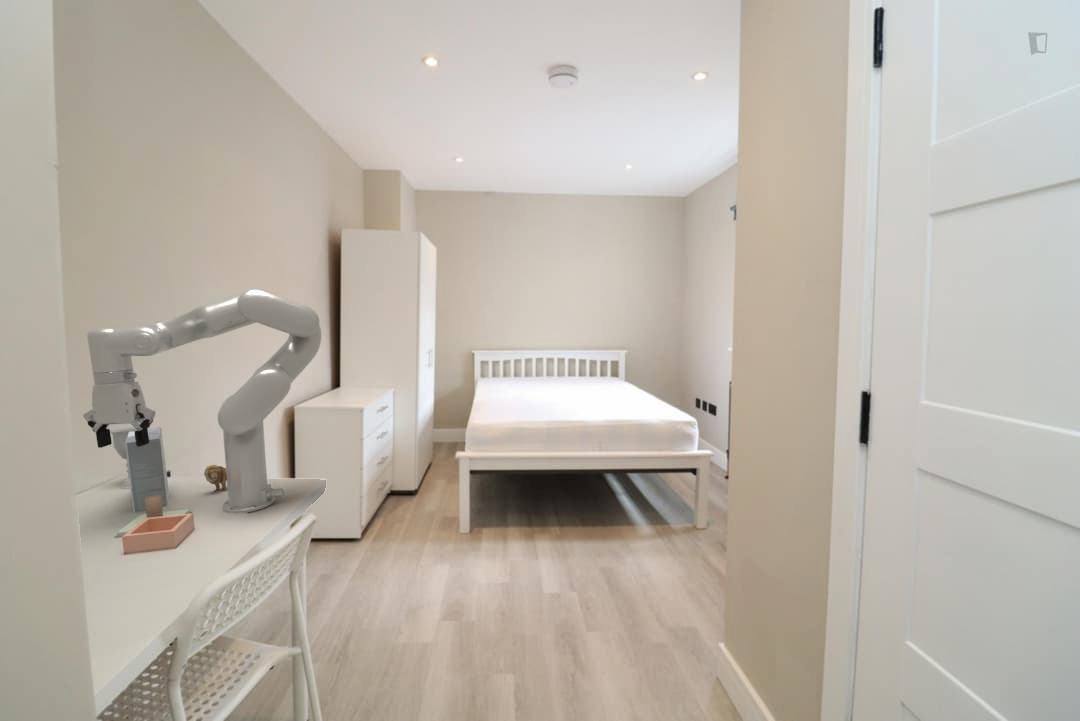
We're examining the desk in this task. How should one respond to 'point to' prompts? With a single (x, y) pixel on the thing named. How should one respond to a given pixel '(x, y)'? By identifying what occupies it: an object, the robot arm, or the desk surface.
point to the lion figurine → (216, 476)
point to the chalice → (122, 447)
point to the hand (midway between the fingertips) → (124, 445)
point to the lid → (151, 513)
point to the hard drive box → (146, 469)
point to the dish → (158, 533)
